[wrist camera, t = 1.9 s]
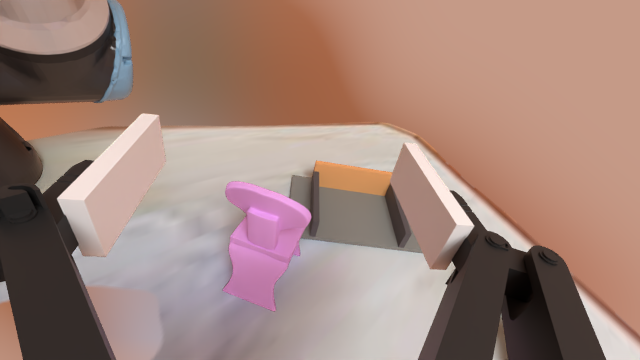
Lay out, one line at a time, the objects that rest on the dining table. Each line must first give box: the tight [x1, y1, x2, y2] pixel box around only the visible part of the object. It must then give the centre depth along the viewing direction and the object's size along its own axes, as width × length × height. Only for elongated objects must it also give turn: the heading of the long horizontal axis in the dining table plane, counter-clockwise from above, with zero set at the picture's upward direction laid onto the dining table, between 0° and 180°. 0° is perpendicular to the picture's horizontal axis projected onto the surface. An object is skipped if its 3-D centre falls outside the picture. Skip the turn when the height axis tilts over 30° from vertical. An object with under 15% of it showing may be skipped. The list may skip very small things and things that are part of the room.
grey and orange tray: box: [290, 161, 423, 253], centre depth 45 cm, size 20×13×5 cm, turn 90°
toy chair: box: [223, 181, 311, 311], centre depth 31 cm, size 8×9×15 cm
